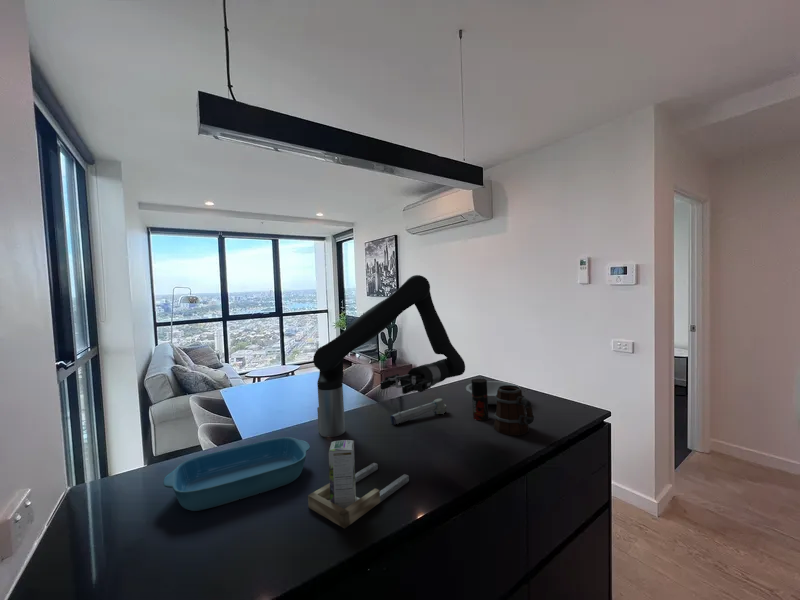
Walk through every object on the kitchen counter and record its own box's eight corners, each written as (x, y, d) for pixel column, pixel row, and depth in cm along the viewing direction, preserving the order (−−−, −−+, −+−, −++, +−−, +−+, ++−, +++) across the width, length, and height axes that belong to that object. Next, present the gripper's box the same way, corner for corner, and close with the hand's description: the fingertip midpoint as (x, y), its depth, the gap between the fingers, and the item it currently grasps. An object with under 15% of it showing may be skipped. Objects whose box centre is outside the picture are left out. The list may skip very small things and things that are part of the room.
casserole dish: (300, 451, 115) (298, 430, 115) (321, 480, 96) (319, 454, 96) (168, 487, 96) (166, 462, 96) (161, 532, 77) (159, 501, 77)
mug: (487, 428, 126) (485, 387, 126) (510, 420, 132) (508, 381, 132) (522, 442, 112) (520, 397, 112) (546, 433, 118) (544, 390, 118)
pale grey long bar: (388, 413, 136) (440, 393, 147) (391, 429, 137) (442, 408, 148) (394, 417, 132) (447, 396, 143) (397, 433, 132) (449, 412, 143)
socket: (344, 485, 92) (343, 474, 92) (380, 502, 84) (379, 490, 84) (308, 507, 83) (308, 495, 83) (344, 528, 75) (343, 515, 75)
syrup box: (333, 498, 86) (330, 441, 86) (356, 496, 86) (353, 438, 86) (330, 512, 80) (327, 451, 80) (355, 510, 81) (352, 448, 81)
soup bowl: (480, 414, 141) (479, 398, 141) (458, 397, 164) (458, 383, 164) (532, 407, 146) (532, 391, 146) (504, 392, 169) (504, 378, 169)
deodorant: (491, 417, 136) (489, 379, 136) (483, 421, 132) (482, 383, 132) (477, 414, 140) (476, 377, 140) (470, 418, 136) (468, 381, 136)
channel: (374, 467, 101) (373, 462, 101) (408, 481, 93) (408, 475, 93) (344, 485, 92) (344, 480, 92) (380, 502, 84) (379, 496, 84)
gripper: (407, 363, 117) (373, 372, 105) (442, 367, 108) (410, 378, 96) (407, 385, 117) (374, 397, 105) (443, 391, 108) (411, 405, 96)
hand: (391, 388), depth 100 cm, fingers open, 8 cm apart
